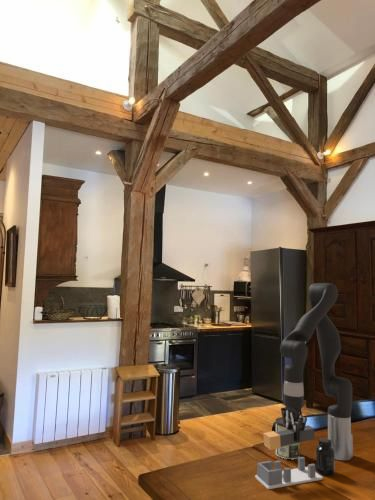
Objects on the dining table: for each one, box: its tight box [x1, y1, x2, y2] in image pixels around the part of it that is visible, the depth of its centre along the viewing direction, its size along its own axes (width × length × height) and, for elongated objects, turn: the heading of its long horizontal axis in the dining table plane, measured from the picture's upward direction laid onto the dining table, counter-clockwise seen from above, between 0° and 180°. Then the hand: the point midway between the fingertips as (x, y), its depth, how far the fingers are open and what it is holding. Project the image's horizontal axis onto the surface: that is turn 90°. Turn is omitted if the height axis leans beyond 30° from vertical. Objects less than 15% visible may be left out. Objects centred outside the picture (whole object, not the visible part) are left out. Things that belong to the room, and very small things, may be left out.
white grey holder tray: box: [254, 456, 324, 490], centre depth 146 cm, size 24×9×6 cm, turn 111°
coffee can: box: [274, 417, 301, 461], centre depth 167 cm, size 10×10×14 cm
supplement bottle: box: [315, 437, 336, 477], centre depth 152 cm, size 7×7×12 cm
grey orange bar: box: [263, 425, 316, 451], centre depth 147 cm, size 20×4×4 cm, turn 111°
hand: (293, 439), depth 147 cm, fingers closed on grey orange bar, 3 cm apart
